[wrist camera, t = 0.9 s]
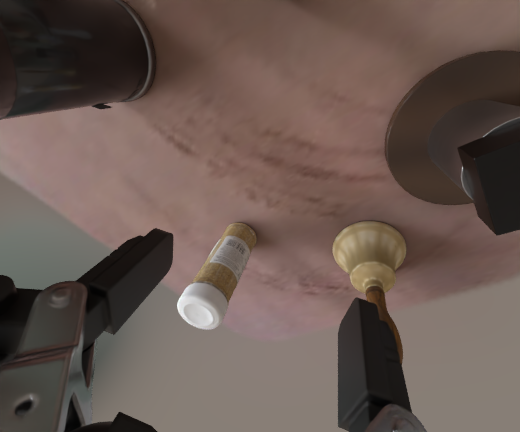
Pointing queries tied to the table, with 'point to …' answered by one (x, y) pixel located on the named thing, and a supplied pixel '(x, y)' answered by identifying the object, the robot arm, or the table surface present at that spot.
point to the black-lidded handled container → (482, 158)
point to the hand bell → (372, 262)
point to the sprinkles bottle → (217, 278)
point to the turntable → (434, 108)
